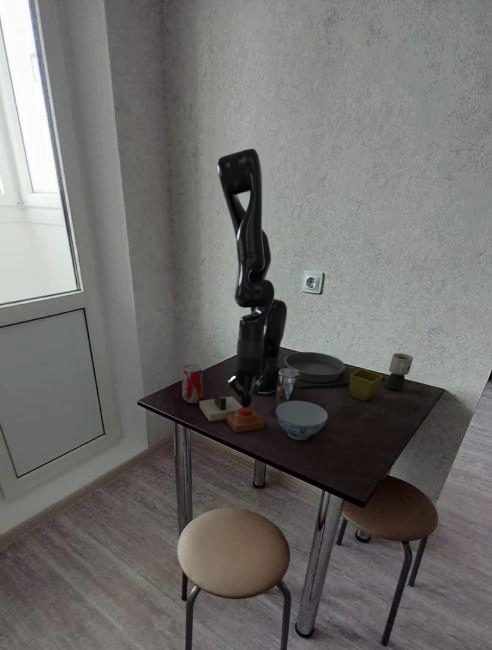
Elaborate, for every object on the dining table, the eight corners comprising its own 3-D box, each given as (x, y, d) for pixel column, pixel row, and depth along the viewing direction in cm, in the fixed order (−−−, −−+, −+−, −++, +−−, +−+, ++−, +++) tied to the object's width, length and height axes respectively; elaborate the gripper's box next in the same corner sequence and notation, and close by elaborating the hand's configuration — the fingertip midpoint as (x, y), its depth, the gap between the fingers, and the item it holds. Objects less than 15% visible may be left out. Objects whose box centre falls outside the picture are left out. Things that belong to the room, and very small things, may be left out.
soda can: (199, 406, 137) (200, 373, 130) (179, 403, 138) (179, 370, 132) (204, 397, 143) (205, 365, 136) (185, 394, 144) (185, 363, 137)
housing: (253, 415, 132) (254, 405, 130) (264, 427, 126) (265, 416, 124) (225, 420, 129) (226, 409, 127) (235, 432, 123) (236, 421, 120)
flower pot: (378, 398, 147) (384, 375, 143) (367, 405, 142) (373, 382, 137) (355, 390, 152) (361, 368, 148) (344, 397, 147) (349, 374, 142)
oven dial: (214, 403, 133) (214, 391, 131) (219, 402, 134) (219, 390, 132) (220, 410, 129) (221, 398, 127) (225, 410, 130) (226, 398, 127)
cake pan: (271, 372, 165) (272, 361, 162) (302, 357, 181) (303, 347, 179) (325, 390, 151) (327, 379, 149) (353, 372, 168) (355, 362, 165)
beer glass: (280, 420, 130) (286, 378, 122) (268, 411, 135) (273, 369, 127) (297, 416, 133) (304, 374, 125) (285, 407, 138) (291, 366, 130)
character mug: (405, 395, 150) (415, 362, 144) (385, 392, 152) (394, 360, 145) (402, 384, 159) (411, 352, 153) (383, 381, 161) (391, 350, 154)
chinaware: (290, 452, 115) (294, 428, 111) (265, 426, 126) (267, 405, 122) (333, 442, 120) (338, 419, 116) (305, 419, 132) (308, 397, 128)
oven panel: (231, 402, 140) (232, 395, 138) (245, 417, 131) (245, 409, 130) (199, 407, 136) (199, 400, 134) (210, 422, 127) (211, 415, 126)
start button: (248, 410, 128) (248, 405, 127) (253, 415, 125) (253, 410, 124) (238, 412, 126) (238, 407, 125) (242, 417, 123) (243, 412, 123)
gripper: (264, 346, 120) (259, 398, 129) (223, 350, 116) (220, 404, 125) (276, 355, 115) (269, 409, 123) (233, 359, 110) (230, 415, 119)
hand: (245, 406), depth 124 cm, fingers closed
